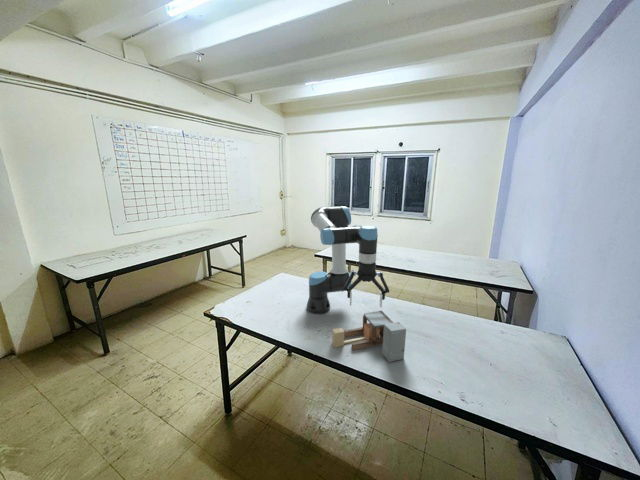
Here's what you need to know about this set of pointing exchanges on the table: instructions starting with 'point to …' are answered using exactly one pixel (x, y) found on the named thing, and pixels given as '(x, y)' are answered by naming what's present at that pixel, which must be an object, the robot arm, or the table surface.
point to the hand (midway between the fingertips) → (365, 304)
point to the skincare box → (394, 341)
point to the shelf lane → (376, 321)
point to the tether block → (339, 339)
